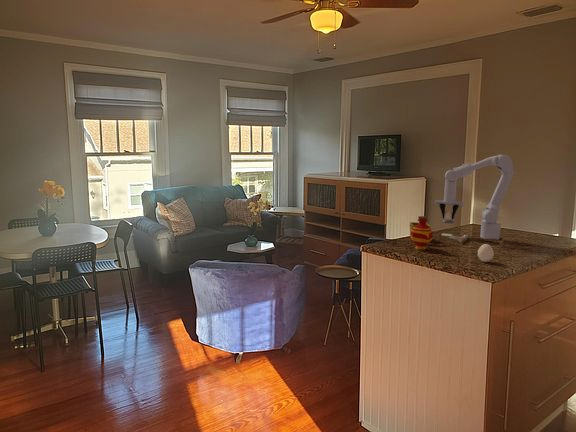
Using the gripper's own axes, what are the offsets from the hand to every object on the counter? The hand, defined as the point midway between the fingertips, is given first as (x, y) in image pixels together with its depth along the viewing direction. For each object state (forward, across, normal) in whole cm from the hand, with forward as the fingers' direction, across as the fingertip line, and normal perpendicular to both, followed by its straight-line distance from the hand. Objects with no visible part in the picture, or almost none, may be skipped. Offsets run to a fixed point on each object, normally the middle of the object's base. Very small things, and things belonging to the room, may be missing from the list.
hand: (448, 218), depth 237 cm
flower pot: (+10, +10, +20) cm, 24 cm away
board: (+10, -4, +6) cm, 13 cm away
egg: (+10, -22, +46) cm, 52 cm away
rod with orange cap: (+8, -9, +12) cm, 17 cm away
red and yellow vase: (+10, +6, +34) cm, 37 cm away
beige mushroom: (+2, 0, 0) cm, 2 cm away
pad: (+10, 0, 0) cm, 10 cm away
